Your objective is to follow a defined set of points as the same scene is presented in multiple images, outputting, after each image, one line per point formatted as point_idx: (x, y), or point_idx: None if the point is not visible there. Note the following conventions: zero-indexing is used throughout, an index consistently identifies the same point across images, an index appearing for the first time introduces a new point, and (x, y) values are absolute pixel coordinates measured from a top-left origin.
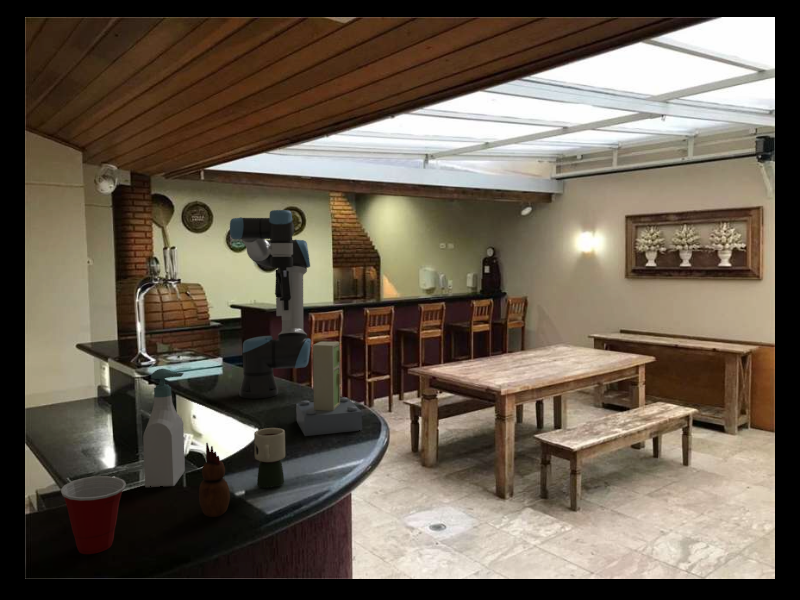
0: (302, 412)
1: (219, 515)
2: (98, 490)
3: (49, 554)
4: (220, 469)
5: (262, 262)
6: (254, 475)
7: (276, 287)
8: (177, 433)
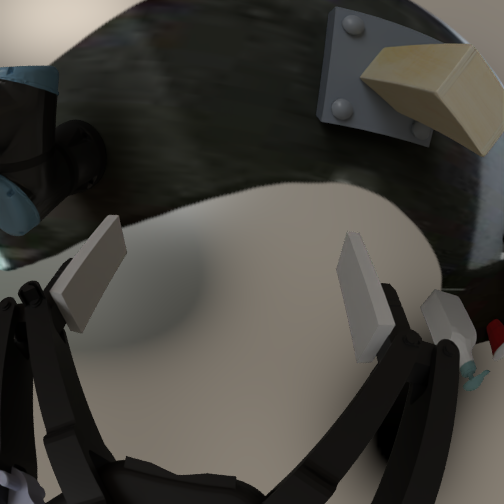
0: (401, 138)
1: None
2: (495, 345)
3: (481, 338)
4: None
5: None
6: (486, 238)
7: (31, 381)
8: (463, 325)
